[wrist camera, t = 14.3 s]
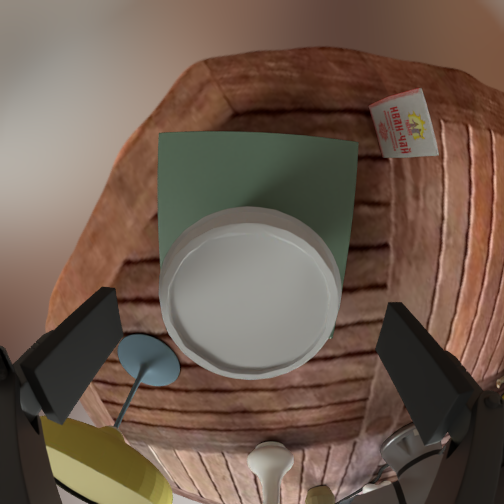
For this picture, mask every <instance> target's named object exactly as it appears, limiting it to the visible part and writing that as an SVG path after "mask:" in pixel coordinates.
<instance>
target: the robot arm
mask: <svg viewBox="0 0 504 504" xmlns="http://www.w3.org/2000/svg"><path fill="white" fill-rule="evenodd" d="M122 337H123V331H122V326H121V321H120V315H119V310H118V304H117V297H116V291H115V288H110V287H101V288H100V289H99V290H98V291H97V292H95V293H94V294H93V295H92V296H91V297H90V298H89V299H87V300H86V301H85V302H84V303H83V304H82V305H81V306H80V307H79V308H77V309H76V310H75V311H74V312H73V313H72V314H71V315H70V316H69V317H68V318H66V319H65V320H64V321H63V322H62V323H61V324H60V325H59V326H58V327H57V328H56V329H55V330H52V331H50V332H48V333H46V334H44V335H43V336H42V337H41V338H39V339H38V340H37V341H36V343H34V344H33V345H32V346H31V348H29V349H28V350H27V351H26V352H25V353H24V354H23V355H22V356H21V357H20V358H19V359H18V360H17V361H16V362H15V363H14V364H13V365H12V363H11V360H10V358H9V356H8V353H7V351H6V349H5V348H4V347H3V346H0V504H62V501H61V498H60V495H59V493H58V489H57V486H56V483H55V479H54V476H53V473H52V469H51V465H50V461H49V457H48V453H47V449H46V444H45V439H44V434H43V428H42V423H41V419H40V416H39V415H38V413H39V412H40V410H41V409H42V410H43V412H44V413H45V415H46V417H47V419H49V420H51V421H53V422H55V423H58V424H60V425H63V424H64V422H65V420H66V419H67V417H68V416H69V414H70V412H71V411H72V410H73V408H74V406H75V405H76V403H77V402H78V400H79V399H80V397H81V396H82V394H83V393H84V391H85V390H86V388H87V387H88V385H89V384H90V382H91V381H92V380H93V378H94V377H95V375H96V374H97V372H98V371H99V369H100V368H101V366H102V365H103V364H104V362H105V361H106V359H107V358H108V356H109V355H110V354H111V352H112V351H113V349H114V348H115V347H116V345H117V344H118V343H119V341H120V340H121V338H122ZM375 350H376V351H377V353H378V355H379V357H380V359H381V361H382V362H383V364H384V366H385V368H386V370H387V372H388V374H389V375H390V377H391V379H392V381H393V383H394V385H395V387H396V389H397V391H398V393H399V395H400V397H401V399H402V400H403V402H404V404H405V406H406V408H407V410H408V412H409V414H410V417H411V419H412V421H413V423H411V424H409V425H407V426H405V427H403V428H401V429H400V430H398V431H397V432H395V433H394V434H393V435H391V436H390V437H389V438H388V439H387V440H386V441H385V442H384V444H383V445H382V447H381V450H380V451H381V455H382V457H383V459H384V460H385V461H386V462H387V464H386V465H385V466H383V467H382V468H381V469H380V471H379V473H378V476H377V478H376V479H375V480H374V481H372V482H371V483H369V484H374V483H375V482H376V481H378V480H379V478H380V477H381V474H382V471H383V470H384V469H385V468H387V467H388V466H390V467H391V468H392V469H393V470H394V471H395V472H396V474H397V477H398V481H396V482H393V483H391V484H388V485H386V486H383V487H381V488H378V489H375V490H373V491H370V492H367V493H364V494H361V495H356V494H357V493H359V492H361V491H362V490H363V488H361V489H359V490H358V491H356V492H354V493H353V494H351V495H349V496H347V497H345V498H344V499H342V500H340V501H339V502H337V503H335V504H504V399H503V398H502V396H500V395H499V394H498V393H496V392H494V391H490V390H487V391H483V390H482V389H481V388H480V386H479V385H478V384H477V383H476V381H475V380H474V379H473V377H472V376H471V375H470V374H469V372H468V371H467V372H466V369H465V368H464V366H463V365H461V363H460V361H459V360H458V359H457V358H456V357H455V356H454V355H452V354H451V353H449V352H448V351H444V350H443V349H442V348H441V347H440V346H439V344H438V343H437V342H436V341H435V340H434V338H433V337H432V336H431V335H430V334H429V333H428V331H427V330H426V329H425V328H424V327H423V326H422V325H421V323H420V322H419V321H418V320H417V319H416V318H415V317H414V316H413V314H412V313H411V312H410V311H409V310H408V309H407V308H406V307H405V306H404V304H403V303H402V302H388V306H387V310H386V314H385V317H384V321H383V325H382V328H381V332H380V335H379V339H378V342H377V345H376V348H375ZM447 432H448V433H449V435H450V436H451V438H450V439H449V440H448V442H447V443H446V444H445V446H444V447H443V448H442V446H441V440H442V439H443V437H444V436H445V434H446V433H447ZM443 451H444V452H443ZM354 495H355V496H354ZM352 496H354V497H352ZM350 497H352V498H350ZM348 498H349V499H348Z"/></svg>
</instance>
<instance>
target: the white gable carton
mask: <svg viewBox="0 0 504 504" xmlns="http://www.w3.org/2000/svg"><path fill="white" fill-rule="evenodd" d="M369 110H370V113H371V116H372V120H373V123H374V127H375V130H376V134H377V138H378V141H379V145H380V149H381V153H382V158H406V157H420V156H436V155H439V153H438V148H437V143H436V139H435V135H434V130H433V126H432V122H431V119H430V115H429V111H428V108H427V104H426V101H425V98H424V94H423V91H422V88H420V89H419V88H416V89H413V90H409V91H406V92H402V93H399V94H395V95H391V96H388V97H386V98H384V99H381V100H379V101H377V102H375V103H373V104H371V105H369Z"/></svg>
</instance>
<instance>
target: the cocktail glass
mask: <svg viewBox="0 0 504 504" xmlns="http://www.w3.org/2000/svg"><path fill="white" fill-rule="evenodd" d="M118 357H119V360H120V362H121V364H122V366H123V367H124V369H125V370H126V371H127V372H128V373H129V374H130V375H131V376H133V377H134V378H135V379H136V380H135V383H134V385H133V387H132V389H131V391H130V393H129V395H128V397H127V399H126V402H125V404H124V406H123V408H122V410H121V412H120V414H119V416H118V418H117V420H116V422H115V424H114V426H105V427H101V428H97V427H94V426H92V425H89V424H86V423H83V422H80V421H77V420H74V419H71V418H67V419H66V420H65V422H64V424H63V425H60V424H58V423H55V422H53V421H51V420H49V419H47V417H46V416H40V419H41V423H42V428H43V434H44V439H45V444H46V449H47V453H48V457H49V461H50V465H51V469H52V473H53V476H54V479H55V483H56V484H57V485H58V486H59V487H61V488H62V489H64V490H65V491H67V492H68V493H70V494H72V495H73V496H75V497H77V498H79V499H81V500H82V501H84V502H86V503H88V504H172V501H173V495H172V489H171V487H170V485H169V483H168V481H167V480H166V478H165V477H164V476H163V475H162V474H161V472H160V471H159V470H158V469H157V468H156V467H155V466H154V465H153V464H152V463H151V462H150V461H149V460H148V459H146V458H145V457H144V456H143V455H141V454H140V453H139V452H138V451H136V450H135V449H134V448H132V447H131V446H129V445H128V444H126V443H125V441H124V438H123V435H122V433H121V431H120V430H119V429H118V427H119V425H120V423H121V421H122V418H123V416H124V414H125V412H126V410H127V408H128V406H129V404H130V402H131V400H132V398H133V396H134V394H135V392H136V390H137V388H138V386H139V384H140V382H143V383H145V384H149V385H153V386H164V385H168V384H170V383H172V382H174V381H175V380H176V379H177V377H178V375H179V372H180V365H179V361H178V358H177V357H176V355H175V354H174V352H173V351H172V350H171V349H170V348H169V347H168V346H167V345H166V344H165V343H163V342H162V341H160V340H158V339H156V338H154V337H152V336H149V335H144V334H132V335H129V336H127V337H125V338H124V339H122V341H121V342H120V344H119V346H118Z"/></svg>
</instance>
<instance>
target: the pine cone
mask: <svg viewBox="0 0 504 504" xmlns="http://www.w3.org/2000/svg"><path fill="white" fill-rule="evenodd" d="M502 382H504V376H503V377H501V378H500V379H498V380H497V382H496V384H497V387H498V388H500V386H501V383H502Z"/></svg>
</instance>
